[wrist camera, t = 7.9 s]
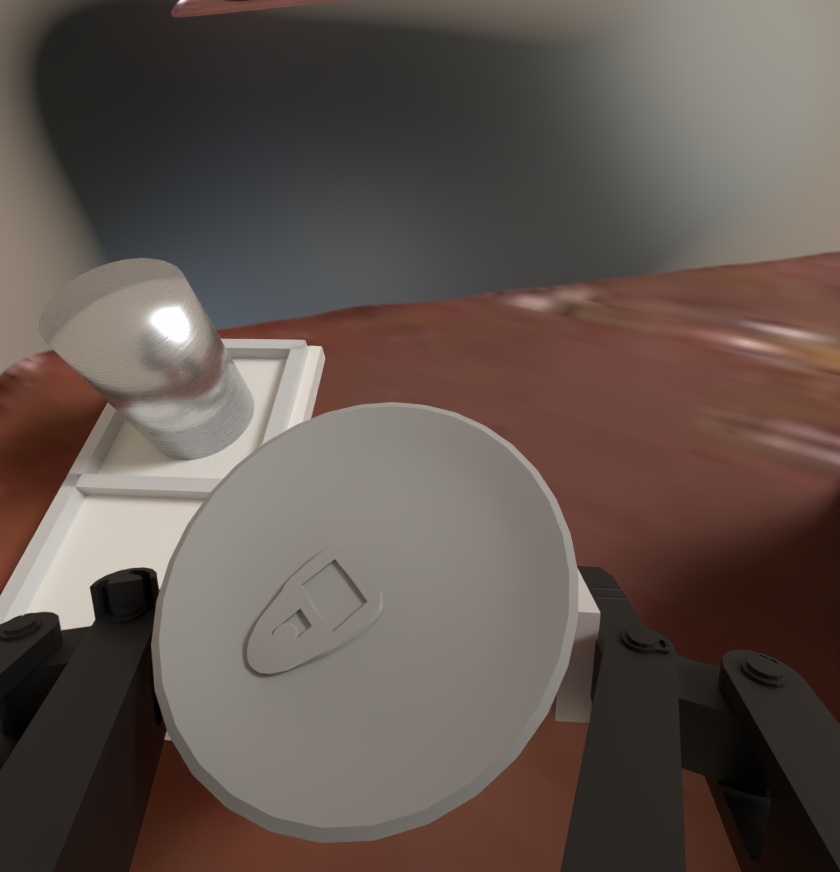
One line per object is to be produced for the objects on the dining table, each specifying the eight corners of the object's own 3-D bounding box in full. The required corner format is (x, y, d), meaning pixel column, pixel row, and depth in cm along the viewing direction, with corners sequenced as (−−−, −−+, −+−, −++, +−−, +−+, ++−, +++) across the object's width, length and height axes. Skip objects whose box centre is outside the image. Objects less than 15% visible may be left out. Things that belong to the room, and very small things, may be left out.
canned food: (270, 684, 17) (55, 639, 8) (392, 518, 20) (341, 349, 11) (439, 834, 14) (416, 1034, 5) (547, 615, 18) (648, 499, 9)
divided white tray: (325, 358, 39) (318, 335, 37) (233, 743, 24) (211, 745, 22) (152, 355, 40) (134, 333, 38) (-41, 721, 25) (-88, 721, 23)
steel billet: (265, 376, 36) (205, 258, 27) (237, 461, 32) (155, 355, 23) (171, 374, 37) (81, 258, 28) (131, 458, 33) (9, 352, 23)
